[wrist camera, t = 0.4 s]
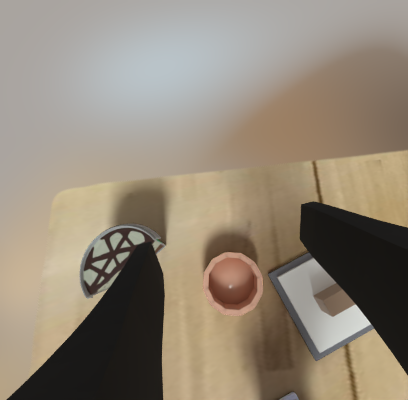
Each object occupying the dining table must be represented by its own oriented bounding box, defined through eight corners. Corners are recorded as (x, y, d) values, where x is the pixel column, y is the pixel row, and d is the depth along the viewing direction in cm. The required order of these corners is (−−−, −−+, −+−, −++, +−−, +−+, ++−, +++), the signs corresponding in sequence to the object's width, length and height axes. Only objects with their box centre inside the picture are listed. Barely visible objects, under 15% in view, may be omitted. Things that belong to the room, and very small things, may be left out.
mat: (391, 316, 33) (393, 317, 33) (314, 359, 32) (316, 361, 32) (338, 236, 36) (339, 236, 36) (267, 273, 36) (268, 274, 35)
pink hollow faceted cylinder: (267, 292, 35) (274, 297, 31) (219, 318, 34) (220, 326, 30) (241, 243, 37) (244, 242, 33) (195, 267, 36) (193, 269, 33)
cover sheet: (384, 313, 33) (405, 322, 29) (318, 351, 32) (331, 364, 28) (338, 244, 35) (352, 243, 32) (276, 277, 35) (284, 280, 31)
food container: (152, 215, 39) (130, 203, 29) (172, 240, 38) (157, 236, 28) (98, 260, 38) (58, 263, 28) (118, 287, 36) (82, 301, 27)
